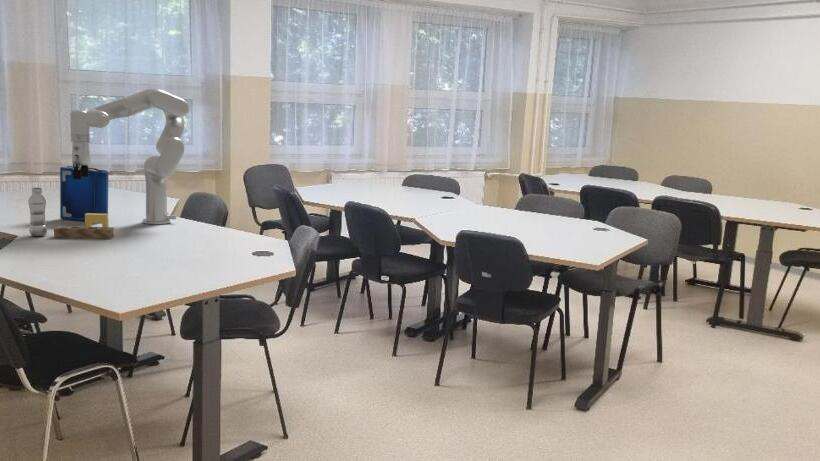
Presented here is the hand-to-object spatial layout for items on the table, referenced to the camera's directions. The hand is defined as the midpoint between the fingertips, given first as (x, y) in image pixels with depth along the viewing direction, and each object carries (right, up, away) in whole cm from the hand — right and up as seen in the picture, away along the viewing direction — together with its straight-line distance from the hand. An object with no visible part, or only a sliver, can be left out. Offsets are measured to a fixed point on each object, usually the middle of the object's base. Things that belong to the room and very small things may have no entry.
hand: (80, 177), depth 317 cm
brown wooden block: (+9, -26, -16) cm, 31 cm away
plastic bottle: (-9, -26, -19) cm, 33 cm away
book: (-8, -19, +22) cm, 30 cm away
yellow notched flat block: (+9, -24, -4) cm, 26 cm away
